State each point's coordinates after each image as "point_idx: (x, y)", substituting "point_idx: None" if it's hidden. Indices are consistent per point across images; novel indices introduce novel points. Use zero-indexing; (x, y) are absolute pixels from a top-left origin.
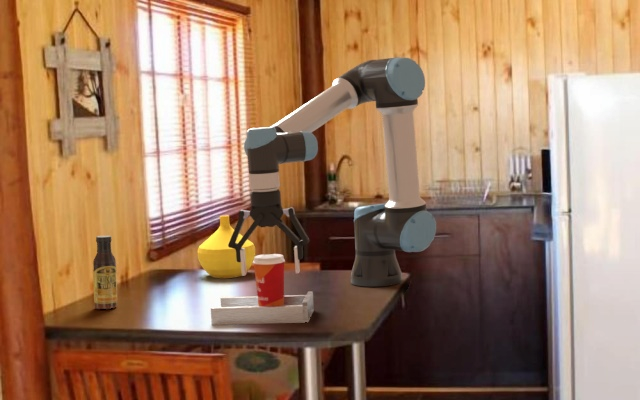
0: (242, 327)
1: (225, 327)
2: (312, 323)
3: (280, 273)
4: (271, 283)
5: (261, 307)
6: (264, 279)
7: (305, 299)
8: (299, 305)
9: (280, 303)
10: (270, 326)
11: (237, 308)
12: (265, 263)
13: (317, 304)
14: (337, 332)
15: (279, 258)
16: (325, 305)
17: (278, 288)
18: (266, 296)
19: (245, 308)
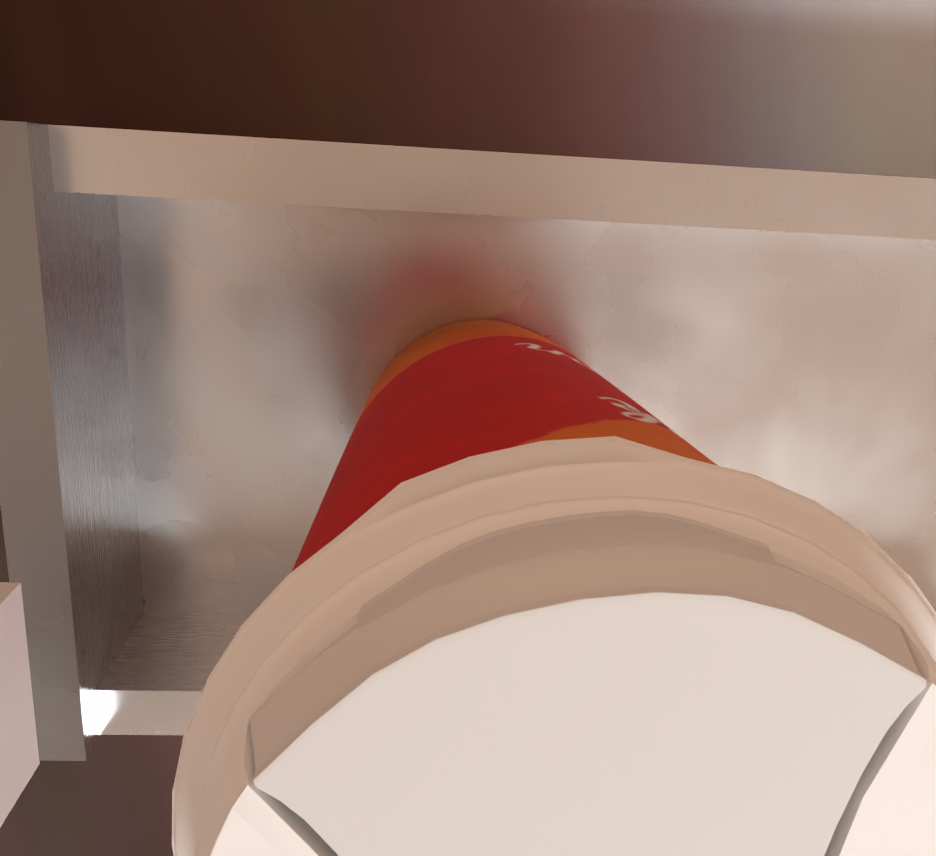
0: (746, 16)
1: (916, 47)
2: (14, 83)
3: (313, 535)
4: (480, 386)
5: (584, 157)
6: (611, 406)
7: (23, 316)
8: (98, 173)
9: (374, 394)
10: (456, 12)
11: (873, 175)
12: (664, 472)
13: (117, 850)
14: None
15: (268, 729)
16: (35, 810)
17: (377, 419)
18: (544, 352)
19: (777, 169)
